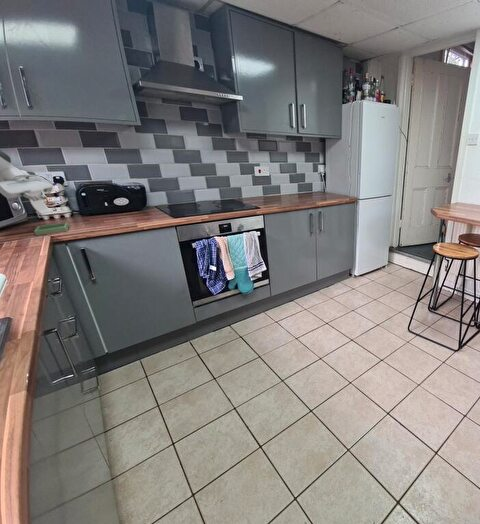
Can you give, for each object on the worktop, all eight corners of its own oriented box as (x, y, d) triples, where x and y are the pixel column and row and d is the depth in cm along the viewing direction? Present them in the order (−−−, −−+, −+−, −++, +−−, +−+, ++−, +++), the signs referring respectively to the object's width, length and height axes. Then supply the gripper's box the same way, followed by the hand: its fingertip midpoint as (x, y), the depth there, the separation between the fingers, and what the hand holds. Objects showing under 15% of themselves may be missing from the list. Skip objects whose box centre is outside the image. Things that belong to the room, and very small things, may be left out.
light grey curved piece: (41, 214, 145) (30, 189, 140) (35, 213, 147) (24, 188, 142) (53, 212, 149) (42, 188, 144) (46, 210, 151) (36, 187, 146)
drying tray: (35, 235, 145) (33, 231, 144) (39, 229, 153) (37, 225, 152) (66, 231, 151) (65, 227, 151) (68, 225, 160) (67, 222, 159)
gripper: (-10, 177, 132) (19, 199, 135) (39, 171, 151) (63, 191, 154) (-14, 186, 134) (15, 208, 137) (35, 180, 153) (59, 199, 156)
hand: (41, 199), depth 146 cm, fingers closed on light grey curved piece, 3 cm apart
